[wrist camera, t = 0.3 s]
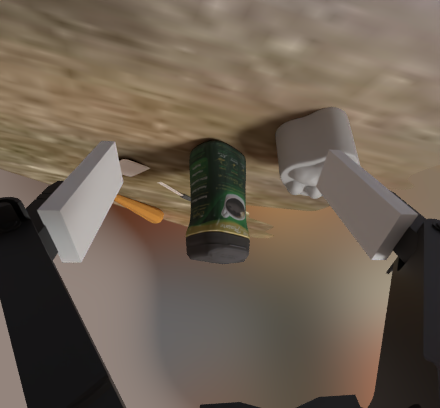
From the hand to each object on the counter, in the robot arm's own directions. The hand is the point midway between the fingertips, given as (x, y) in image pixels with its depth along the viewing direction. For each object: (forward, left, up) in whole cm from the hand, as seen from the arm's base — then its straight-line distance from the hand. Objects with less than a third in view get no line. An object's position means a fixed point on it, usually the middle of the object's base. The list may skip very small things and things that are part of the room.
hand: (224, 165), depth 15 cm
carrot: (+44, -20, -16) cm, 51 cm away
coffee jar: (+22, +1, -16) cm, 27 cm away
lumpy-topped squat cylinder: (+17, +16, -16) cm, 28 cm away
